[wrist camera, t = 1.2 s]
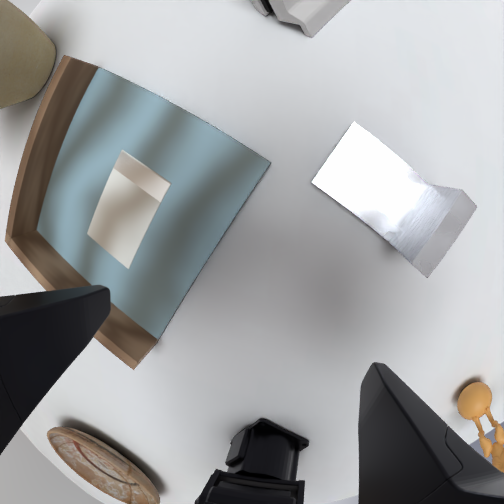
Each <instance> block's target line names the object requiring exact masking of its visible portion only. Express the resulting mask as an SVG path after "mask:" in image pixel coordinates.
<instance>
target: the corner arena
mask: <svg viewBox="0 0 504 504" xmlns="http://www.w3.org/2000/svg"><path fill="white" fill-rule="evenodd" d="M270 164H271V162H269V161H268V160H266V159H265V158H263V157H262V156H260V155H259V154H257V153H255V152H254V151H252V150H251V149H249V148H248V147H246V146H244V145H243V144H241V143H240V142H238V141H236V140H235V139H233V138H232V137H230V136H228V135H227V134H225V133H223V132H222V131H220V130H218V129H217V128H215V127H213V126H212V125H210V124H208V123H207V122H205V121H203V120H201V119H200V118H198V117H196V116H194V115H193V114H191V113H189V112H187V111H186V110H184V109H182V108H180V107H178V106H176V105H175V104H173V103H171V102H169V101H167V100H165V99H163V98H162V97H160V96H158V95H156V94H154V93H152V92H150V91H148V90H146V89H144V88H142V87H140V86H138V85H136V84H134V83H132V82H130V81H128V80H126V79H124V78H122V77H120V76H117V75H115V74H113V73H111V72H109V71H107V70H104V69H102V68H100V67H98V66H95V65H93V64H90V63H87V62H84V61H81V60H78V59H75V58H72V57H69V56H66V55H64V56H63V58H62V60H61V62H60V64H59V66H58V68H57V70H56V72H55V74H54V76H53V78H52V80H51V82H50V84H49V86H48V88H47V91H46V93H45V95H44V97H43V100H42V102H41V105H40V107H39V109H38V112H37V114H36V117H35V120H34V122H33V125H32V128H31V131H30V134H29V137H28V140H27V143H26V146H25V149H24V152H23V156H22V159H21V162H20V166H19V170H18V174H17V178H16V182H15V186H14V190H13V195H12V200H11V205H10V210H9V216H8V222H7V229H6V236H5V242H6V243H7V245H8V246H9V247H10V248H11V250H12V251H13V252H14V254H15V255H16V256H17V257H18V259H19V260H20V261H21V262H22V263H23V265H24V266H25V267H26V268H27V269H28V271H29V272H30V273H31V274H32V275H33V276H34V278H35V279H36V280H37V281H38V282H39V283H40V284H41V285H42V286H43V288H44V289H45V290H46V291H52V290H60V289H68V288H76V287H84V286H91V285H103V286H105V287H108V288H109V289H110V295H111V311H110V314H109V316H108V317H107V318H106V320H105V321H104V323H103V324H102V325H101V327H100V328H99V330H98V331H97V332H96V334H95V335H94V338H95V339H97V340H98V341H99V342H100V343H101V344H102V345H103V346H105V347H106V348H107V349H108V350H109V351H111V352H112V353H113V354H114V355H115V356H117V357H118V358H119V359H120V360H122V361H123V362H124V363H125V364H127V365H128V366H129V367H130V368H132V369H133V370H134V369H135V368H136V367H137V365H138V364H139V363H140V362H141V361H142V360H143V359H144V357H145V356H146V355H147V354H148V353H149V352H150V350H151V349H152V348H153V347H154V346H155V345H156V343H157V342H158V340H159V338H160V337H161V335H162V333H163V332H164V330H165V328H166V327H167V325H168V323H169V322H170V320H171V318H172V317H173V315H174V313H175V312H176V310H177V308H178V307H179V305H180V303H181V302H182V300H183V299H184V297H185V295H186V294H187V292H188V290H189V289H190V287H191V286H192V284H193V282H194V281H195V279H196V277H197V276H198V274H199V273H200V271H201V269H202V268H203V266H204V265H205V263H206V262H207V260H208V258H209V257H210V255H211V254H212V252H213V250H214V249H215V247H216V246H217V244H218V243H219V241H220V240H221V238H222V236H223V235H224V233H225V232H226V230H227V229H228V227H229V226H230V224H231V222H232V221H233V219H234V218H235V216H236V215H237V213H238V212H239V210H240V209H241V207H242V206H243V204H244V203H245V201H246V200H247V198H248V197H249V195H250V194H251V192H252V191H253V189H254V188H255V186H256V185H257V183H258V182H259V180H260V179H261V177H262V176H263V174H264V173H265V171H266V170H267V168H268V167H269V165H270Z"/></svg>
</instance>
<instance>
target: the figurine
mask: <svg viewBox="0 0 504 504" xmlns="http://www.w3.org/2000/svg"><path fill="white" fill-rule="evenodd" d="M491 401H492V393H491V390H490V388H489V387H488V386H487V385H486V384H484V383H481V382H475V383H472V384H470V385H468V386H467V387H466V388H465V389H464V390H463V391H462V392H461V394H460V396H459V398H458V403H457V407H458V411H459V413H460V415H461V416H462V417H463V418H465V419H468V420H473V421H474V422H475V424H476V426H477V428H478V430H479V433H478V436H479V437H480V438H479V440H480V445H481V447H482V449H483V452H484V456H485V457H489V456H490V453H491V454H492V458H493V459H492V465H493V466H495V467H496V468H497V469H498V470H500V471H501V472H503V473H504V448H503V444H504V430H503V428H502V427H501V425H500V424H498V422H497V421H494V419H493V417H492V414H491V412H490V404H491ZM484 414H486V415H487V417H488V419H489V421H490V423H491V424H492V427H495V430H496V431H495V435H494V436H495V439H496V441H497V442H495V443H494V444H493V445H492V443H491V440H490V439H488V438H486V437H485V436H484V431H483V429H482V426H481V423H480V421H479V418H480V417H481V416H483V415H484Z"/></svg>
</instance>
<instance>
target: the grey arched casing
mask: <svg viewBox="0 0 504 504" xmlns="http://www.w3.org/2000/svg"><path fill="white" fill-rule="evenodd" d="M251 1H252V3H253V4H254V6H255V8H256V10H257V11H259V12H260V13H261V14H263V15H265V16H267V15H268V14H269V13H272V12H273V11H274V13H275V15H276V16H277V18H278V21H284V22H289V23H294V24H299V25H300V26H301V28H302V30H303V31H304V33H305V35H306V36H308V37H310V38H313V37H314V35H315V34H316V33H317V32H318V31H319V30H320V29H321V28H322V27H323V26H324V25H325V24H326V23H327V22H328V21H330V20H331V19H332V18H333V17H334V16H335V15H336V14H337V13H338V12H339V11H340V10H341V9H342V8H343V7H344V6H345V5H346V4H347V3H349V2H350V1H351V0H251Z"/></svg>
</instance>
